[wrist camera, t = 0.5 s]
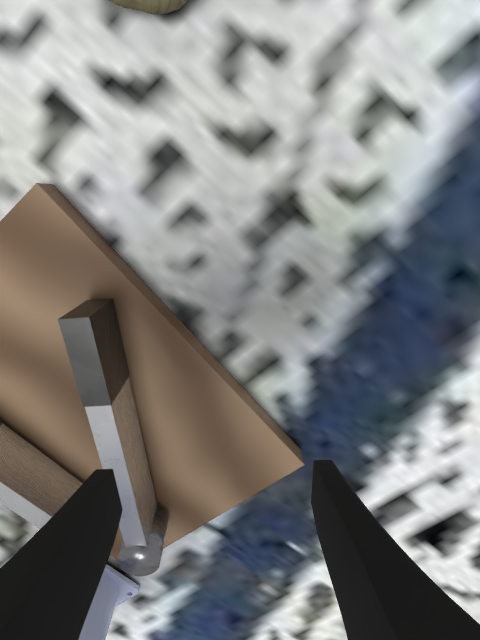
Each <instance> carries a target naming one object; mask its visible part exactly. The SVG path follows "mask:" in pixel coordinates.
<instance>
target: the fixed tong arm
mask: <svg viewBox="0 0 480 640" xmlns="http://www.w3.org/2000/svg"><path fill="white" fill-rule="evenodd" d="M3 423H4V422H2V421H1V420H0V503H2V504H3V505H5V506H6V507H8V508H9V509H11V510H12V511H14V512H15V513H17V514H18V515H20V516H21V517H23V518H24V519H26V520H27V521H29V522H30V523H32V524H34V525H35V526H37V527H38V528H40V529H41V528H42V527H43V526H44V525H45V524H46V523H47V522H48V521H49V520H50V518H51V517H52V516H53V515H54V514H55V513H56V512H57V511H58V510H59V509H60V508H61V507H62V506H63V505H64V504H65V502H66V501H67V500H68V499H69V498H70V497H71V496H72V495H73V494H74V493H75V492H76V490H77V489H78V488H79V487H80V486H81V485H82V484H83V483H82V482H80V481H79V480H78V479H76V478H75V477H74V476H72V475H71V474H70V473H68V472H67V471H66V470H64V469H63V468H62V467H60V466H59V465H58V464H56V463H55V462H54V461H52V460H51V459H50V458H48V457H47V456H46V455H44V454H43V453H42V452H40V451H39V450H38V449H36V448H35V447H34V446H32V445H31V444H30V443H28V442H27V441H26V440H24V439H23V438H22V437H20V436H19V435H18V434H16V433H15V432H14V431H12V430H11V429H10V428H8V427H7V426H6V425H4V424H3Z"/></svg>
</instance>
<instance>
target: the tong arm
mask: <svg viewBox="0 0 480 640" xmlns="http://www.w3.org/2000/svg"><path fill="white" fill-rule="evenodd" d="M58 322H59V326H60V329H61V332H62V336H63V339H64V343H65V346H66V350H67V353H68V356H69V360H70V363H71V367H72V370H73V374H74V377H75V380H76V384H77V387H78V391H79V394H80V398H81V401H82V404H83V407H85V409H86V413H87V416H88V420H89V423H90V427H91V430H92V434H93V437H94V441H95V444H96V447H97V451H98V454H99V458H100V461H101V465H102V468H103V469H113V471H114V476H115V480H116V484H117V488H118V492H119V496H120V501H121V505H122V509H123V511H122V515H121V519H120V523H119V527H120V530H121V534H122V537H123V544H122V547H121V550H120V553H119V556H118V560H117V563H118V566H119V567H120V568H121V569H122V570H123V571H124V572H126V573H128V574H131V575H135V576H146V575H150V574H152V573H154V572H155V571H156V570H157V569H158V568H159V565H160V560H161V555H162V550H163V545H164V540H165V536H166V531H167V526H168V521H169V515H168V513H167V512H166V510H165V509H163V508H162V507H160V506H157V502H156V498H155V493H154V489H153V484H152V479H151V475H150V470H149V466H148V461H147V457H146V452H145V447H144V443H143V438H142V434H141V429H140V425H139V420H138V415H137V411H136V406H135V402H134V397H133V393H132V388H131V384H130V379H129V375H130V374H129V369H128V364H127V360H126V355H125V351H124V346H123V341H122V337H121V332H120V328H119V323H118V318H117V314H116V309H115V305H114V300H113V298H110V299H95V300H86V301H85V302H83V303H82V304H80V305H79V306H77V307H76V308H74V309H73V310H71V311H69V312H68V313H66V314H65V315H63V316H62V317H60V318H59V319H58Z"/></svg>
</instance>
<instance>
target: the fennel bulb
mask: <svg viewBox="0 0 480 640" xmlns="http://www.w3.org/2000/svg"><path fill="white" fill-rule="evenodd" d="M110 1H111V2H113V3H115V4H116V5H119V6H122V7H126V8H132V9H138V10H142V11H144V12H147V13H151V14H166V13H169V12H172V11H177V10H179V9H180V8H181V7H182V6H183V5H184V4H185V3H186V2H187V1H188V0H110Z"/></svg>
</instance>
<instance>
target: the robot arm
mask: <svg viewBox="0 0 480 640" xmlns="http://www.w3.org/2000/svg"><path fill="white" fill-rule="evenodd" d="M311 504H312V509H313V514H314V519H315V524H316V529H317V534H318V537H319V541H320V544H321V548H322V551H323V554H324V558H325V561H326V564H327V568H328V571H329V574H330V578H331V581H332V584H333V588H334V591H335V594H336V598H337V601H338V604H339V608H340V611H341V614H342V618H343V622H344V626H345V629H346V633H347V638H348V640H480V624H479V623H478V622H476V621H475V620H474V619H473V618H472V617H471V616H470V615H469V614H468V613H466V612H465V611H464V610H463V609H462V608H461V607H460V606H459V605H458V604H456V603H455V602H454V601H453V600H452V599H451V598H450V597H449V596H448V595H447V594H446V593H445V592H444V591H443V590H442V589H441V588H439V587H438V586H437V585H436V584H435V583H434V582H433V581H432V580H431V579H430V578H429V577H428V576H427V575H426V574H425V573H424V572H423V571H422V570H421V569H420V568H419V567H418V566H417V565H416V564H415V562H414V561H413V560H412V559H411V558H410V557H409V556H408V555H407V554H406V553H405V552H404V551H403V550H402V549H401V547H400V546H399V545H398V544H397V543H396V542H395V541H394V540H393V538H392V537H391V536H390V535H389V534H388V533H387V532H386V530H385V529H384V528H383V527H382V526H381V525H380V523H379V522H378V521H377V520H376V519H375V517H374V516H373V515H372V514H371V512H370V511H369V510H368V509H367V507H366V506H365V505H364V504H363V502H362V501H361V500H360V498H359V497H358V496H357V495H356V493H355V492H354V491H353V489H352V488H351V486H350V485H349V484H348V482H347V481H346V480H345V478H344V477H343V475H342V474H341V473H340V471H339V470H338V468H337V467H336V465H335V464H334V462H333V461H332V460H315V461H314V465H313V481H312V497H311ZM122 511H123V509H122V505H121V501H120V496H119V492H118V488H117V484H116V480H115V476H114V471H113V469H96V470H95V471H94V472H93V473H92V474H91V475H90V476H89V477H88V478H87V479H86V481H85V482H84V483H83V484H82V485H81V486H80V487H79V488H78V489H77V490H76V492H75V493H74V494H73V495H72V496H71V497H70V498H69V499H68V500H67V501H66V502H65V504H64V505H63V506H62V507H61V508H60V509H59V510H58V511H57V512H56V513H55V514H54V515H53V516H52V517H51V518H50V520H49V521H48V522H47V523H46V524H45V525H44V526H43V527H42V528H41V529H40V530H39V531H38V532H37V533H36V534H35V535H34V536H33V537H32V538H31V539H30V540H29V541H28V542H27V543H26V544H25V545H24V546H23V547H22V548H21V549H20V550H19V551H18V552H17V553H16V554H15V555H14V556H13V557H12V558H11V559H10V560H9V561H8V562H7V563H6V564H5V565H4V566H2V567H1V568H0V640H105V639H106V635H107V632H108V629H109V625H110V622H111V618H112V615H113V612H114V608H115V606H117V605H119V604H120V603H122V602H124V601H126V600H127V599H129V598H131V597H133V596H135V595H136V594H138V593H139V590H140V586H139V585H137V584H136V583H134V582H133V581H131V580H130V579H128V578H127V577H125V576H124V575H122V574H121V573H119V572H118V571H116V570H115V569H113V568H112V567H111V566H109V565H108V564H107V561H108V558H109V556H110V553H111V550H112V547H113V545H114V542H115V538H116V534H117V531H118V527H119V523H120V519H121V515H122Z"/></svg>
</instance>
